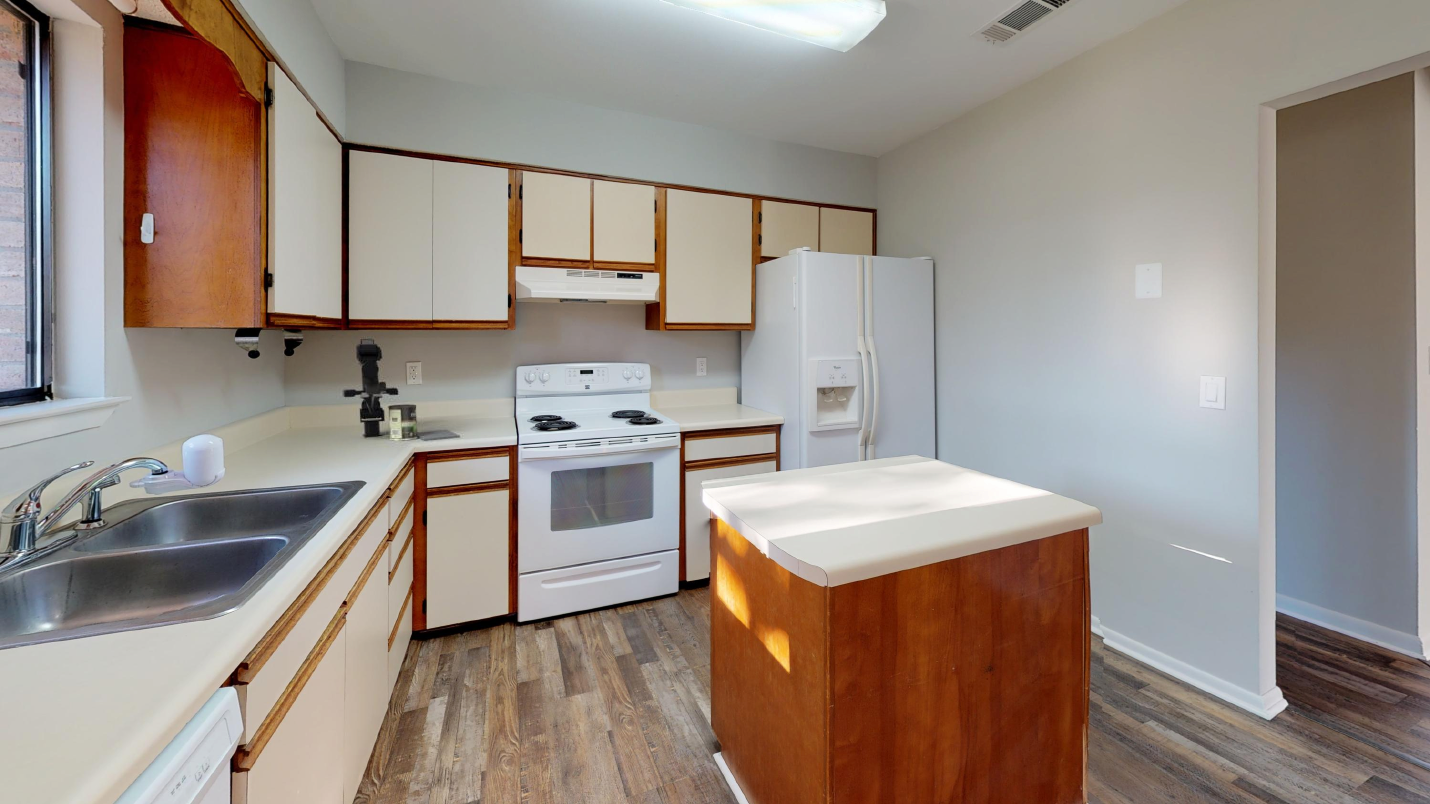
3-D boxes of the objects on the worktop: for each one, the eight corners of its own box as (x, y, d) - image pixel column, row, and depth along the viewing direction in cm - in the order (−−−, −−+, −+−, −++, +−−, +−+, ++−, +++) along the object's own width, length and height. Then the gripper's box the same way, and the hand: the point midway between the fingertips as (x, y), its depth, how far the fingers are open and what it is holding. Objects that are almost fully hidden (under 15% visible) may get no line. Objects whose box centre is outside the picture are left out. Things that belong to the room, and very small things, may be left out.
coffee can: (419, 436, 242) (418, 403, 240) (415, 440, 232) (413, 406, 231) (392, 437, 239) (391, 404, 237) (386, 441, 229) (385, 407, 227)
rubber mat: (412, 434, 246) (412, 432, 246) (447, 431, 255) (447, 429, 255) (423, 440, 231) (423, 438, 231) (459, 437, 240) (459, 435, 240)
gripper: (345, 376, 213) (347, 417, 215) (400, 375, 225) (402, 413, 227) (341, 375, 222) (343, 414, 224) (394, 373, 234) (396, 411, 235)
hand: (372, 413), depth 227 cm, fingers closed
